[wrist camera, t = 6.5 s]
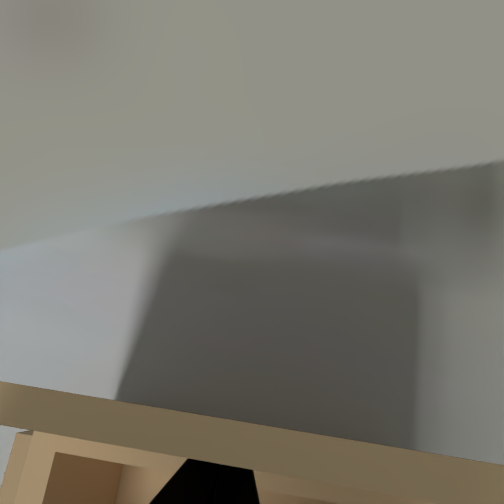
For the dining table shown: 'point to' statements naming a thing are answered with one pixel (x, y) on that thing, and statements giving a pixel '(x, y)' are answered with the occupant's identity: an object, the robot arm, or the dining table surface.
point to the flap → (254, 446)
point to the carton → (138, 476)
